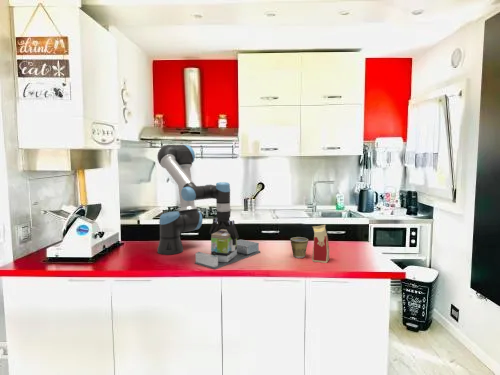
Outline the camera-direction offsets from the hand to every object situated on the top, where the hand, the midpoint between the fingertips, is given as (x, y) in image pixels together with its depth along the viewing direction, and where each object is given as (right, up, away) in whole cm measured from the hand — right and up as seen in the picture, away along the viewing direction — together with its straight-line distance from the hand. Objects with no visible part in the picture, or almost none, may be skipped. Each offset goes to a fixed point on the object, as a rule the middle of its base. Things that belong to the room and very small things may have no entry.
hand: (223, 248), depth 194 cm
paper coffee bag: (+53, -6, 0) cm, 53 cm away
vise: (+3, -6, +4) cm, 8 cm away
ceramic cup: (+43, -5, +8) cm, 44 cm away
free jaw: (+11, -3, +14) cm, 18 cm away
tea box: (0, -5, 0) cm, 5 cm away
